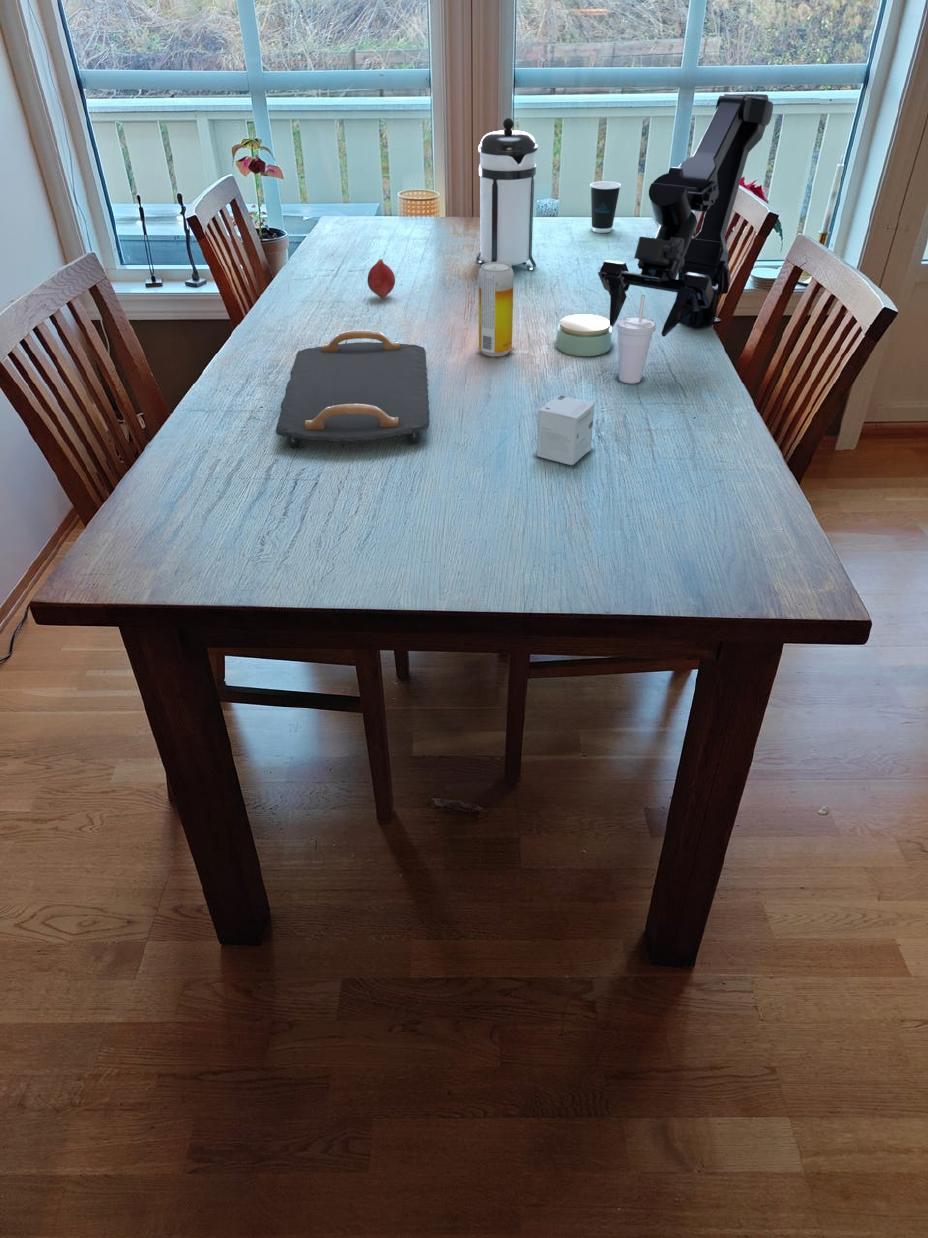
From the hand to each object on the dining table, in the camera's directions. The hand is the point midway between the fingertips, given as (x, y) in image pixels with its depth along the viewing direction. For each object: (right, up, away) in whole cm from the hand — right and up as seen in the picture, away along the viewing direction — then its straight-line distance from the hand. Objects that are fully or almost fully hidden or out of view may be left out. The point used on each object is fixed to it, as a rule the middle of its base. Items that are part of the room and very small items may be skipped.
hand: (636, 330), depth 138 cm
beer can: (-23, +1, +16) cm, 28 cm away
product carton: (-14, -24, -16) cm, 32 cm away
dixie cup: (+8, +55, +82) cm, 99 cm away
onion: (-46, +21, +40) cm, 65 cm away
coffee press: (-19, +36, +59) cm, 72 cm away
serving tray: (-46, -12, -1) cm, 48 cm away
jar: (-6, +3, +17) cm, 18 cm away
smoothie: (0, -7, +5) cm, 8 cm away
